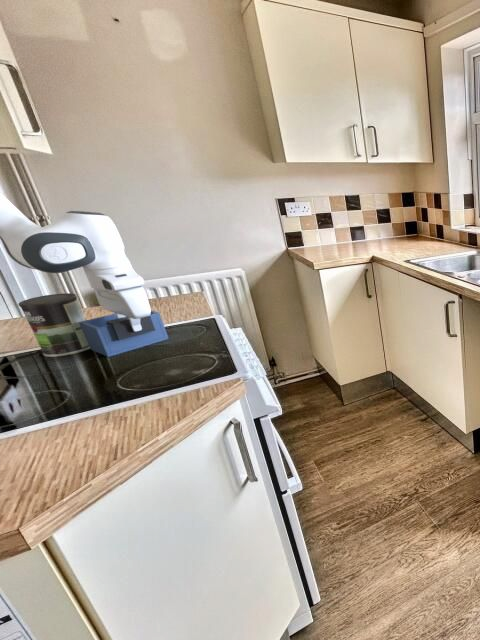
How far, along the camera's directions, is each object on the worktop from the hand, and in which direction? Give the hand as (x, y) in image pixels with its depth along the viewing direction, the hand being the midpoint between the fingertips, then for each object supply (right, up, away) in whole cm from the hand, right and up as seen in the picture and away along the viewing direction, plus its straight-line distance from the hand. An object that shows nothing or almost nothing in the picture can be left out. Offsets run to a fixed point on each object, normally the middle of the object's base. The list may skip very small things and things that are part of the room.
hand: (132, 328), depth 111 cm
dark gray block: (0, -1, +1) cm, 2 cm away
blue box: (-4, -4, +4) cm, 7 cm away
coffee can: (-18, -6, +2) cm, 19 cm away
